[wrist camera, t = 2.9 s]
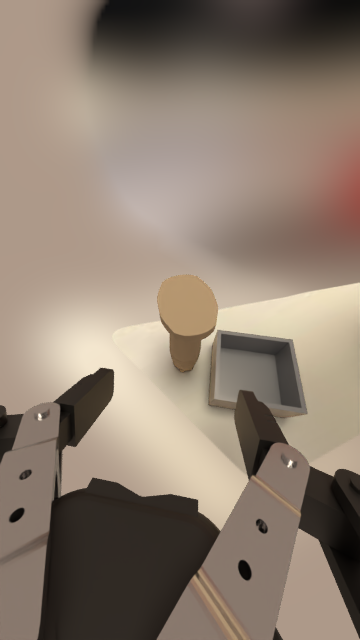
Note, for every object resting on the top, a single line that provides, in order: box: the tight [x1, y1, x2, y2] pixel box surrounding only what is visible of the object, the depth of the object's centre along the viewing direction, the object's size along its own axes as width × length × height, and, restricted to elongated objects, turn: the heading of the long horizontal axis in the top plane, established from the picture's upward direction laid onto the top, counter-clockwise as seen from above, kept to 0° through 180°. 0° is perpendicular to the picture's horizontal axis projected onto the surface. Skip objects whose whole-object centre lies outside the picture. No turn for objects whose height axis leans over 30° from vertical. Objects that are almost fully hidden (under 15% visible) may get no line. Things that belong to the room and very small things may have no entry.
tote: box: [209, 330, 307, 418], centre depth 24 cm, size 10×9×5 cm
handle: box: [157, 275, 218, 372], centre depth 21 cm, size 5×6×15 cm
